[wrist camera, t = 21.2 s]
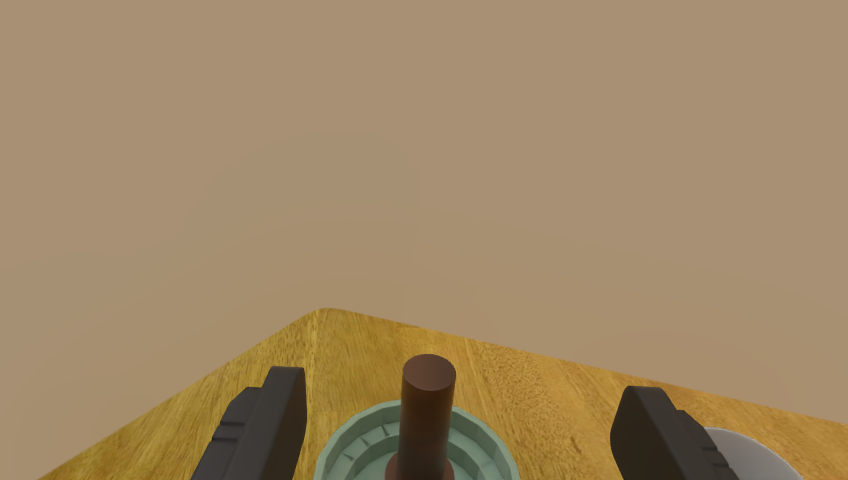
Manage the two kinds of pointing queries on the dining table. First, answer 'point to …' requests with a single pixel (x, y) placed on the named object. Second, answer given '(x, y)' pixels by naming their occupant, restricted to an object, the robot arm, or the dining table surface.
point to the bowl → (378, 441)
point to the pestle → (424, 420)
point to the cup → (751, 457)
